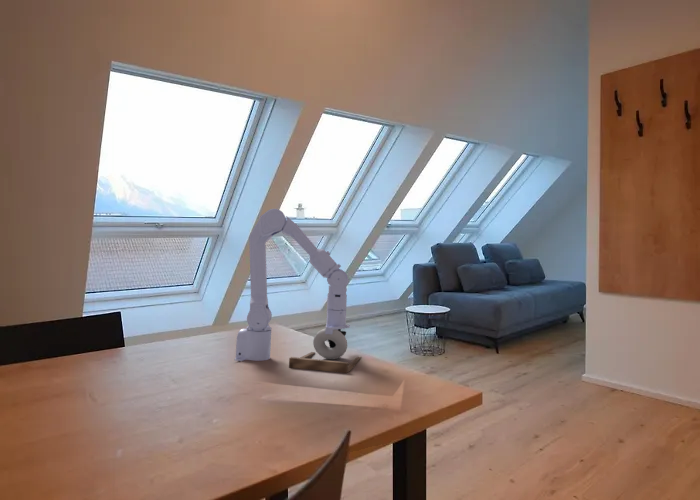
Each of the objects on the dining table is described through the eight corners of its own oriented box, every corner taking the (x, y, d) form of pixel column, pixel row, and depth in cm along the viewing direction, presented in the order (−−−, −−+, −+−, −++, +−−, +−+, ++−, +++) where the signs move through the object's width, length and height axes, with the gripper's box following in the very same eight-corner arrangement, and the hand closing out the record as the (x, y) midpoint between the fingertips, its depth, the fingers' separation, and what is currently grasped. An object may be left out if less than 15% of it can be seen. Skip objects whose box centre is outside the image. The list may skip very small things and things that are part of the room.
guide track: (288, 367, 127) (289, 357, 127) (311, 356, 145) (311, 347, 145) (346, 373, 123) (346, 363, 123) (362, 360, 141) (362, 352, 141)
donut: (347, 356, 140) (349, 328, 136) (345, 364, 137) (347, 335, 133) (314, 351, 141) (315, 323, 137) (311, 358, 138) (312, 330, 134)
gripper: (343, 312, 133) (341, 361, 132) (355, 308, 147) (354, 352, 146) (319, 311, 135) (317, 359, 134) (333, 307, 149) (332, 351, 148)
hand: (334, 355), depth 140 cm, fingers closed
